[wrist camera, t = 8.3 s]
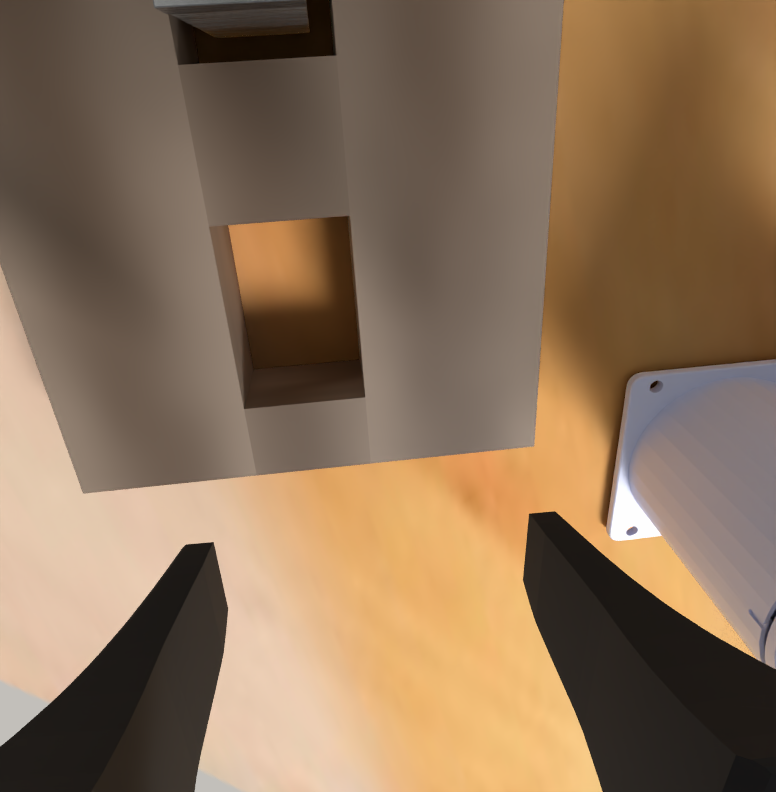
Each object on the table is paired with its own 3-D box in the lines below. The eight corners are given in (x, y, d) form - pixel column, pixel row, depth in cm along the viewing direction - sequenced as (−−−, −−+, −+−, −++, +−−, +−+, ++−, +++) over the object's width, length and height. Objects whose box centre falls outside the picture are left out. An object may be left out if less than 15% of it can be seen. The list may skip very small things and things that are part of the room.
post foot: (541, -355, 14) (594, -462, 11) (509, 405, 23) (534, 446, 20) (-140, -344, 13) (-261, -458, 10) (111, 444, 22) (83, 493, 19)
